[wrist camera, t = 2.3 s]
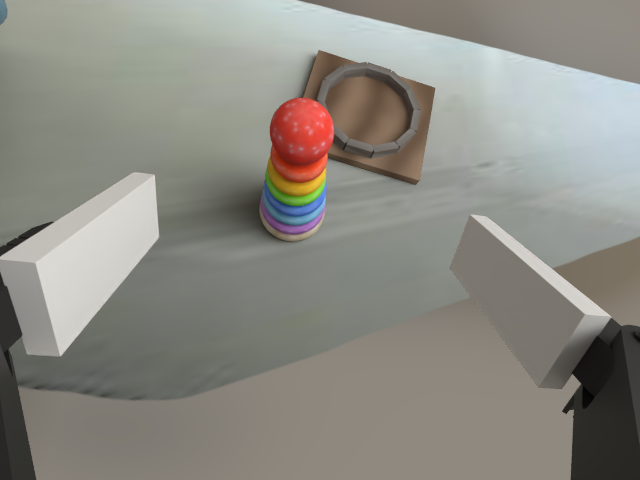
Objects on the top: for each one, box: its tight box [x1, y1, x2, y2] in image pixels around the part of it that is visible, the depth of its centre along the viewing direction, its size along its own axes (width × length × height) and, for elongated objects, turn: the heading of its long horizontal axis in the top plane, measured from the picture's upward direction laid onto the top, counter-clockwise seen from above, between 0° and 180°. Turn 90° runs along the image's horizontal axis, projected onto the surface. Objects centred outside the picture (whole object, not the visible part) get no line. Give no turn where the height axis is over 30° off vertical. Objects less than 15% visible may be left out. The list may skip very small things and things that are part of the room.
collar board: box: [303, 50, 435, 185], centre depth 46 cm, size 18×16×3 cm
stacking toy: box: [259, 98, 334, 241], centre depth 33 cm, size 8×8×19 cm
